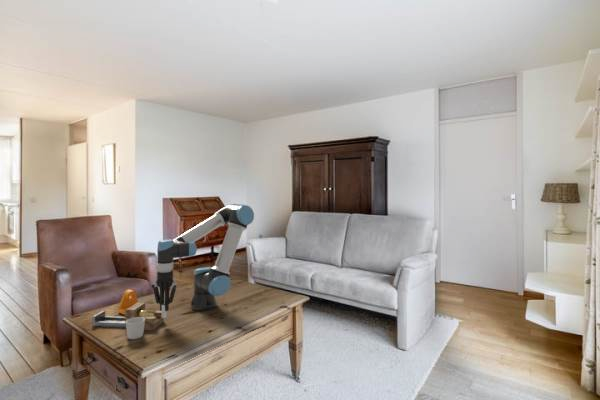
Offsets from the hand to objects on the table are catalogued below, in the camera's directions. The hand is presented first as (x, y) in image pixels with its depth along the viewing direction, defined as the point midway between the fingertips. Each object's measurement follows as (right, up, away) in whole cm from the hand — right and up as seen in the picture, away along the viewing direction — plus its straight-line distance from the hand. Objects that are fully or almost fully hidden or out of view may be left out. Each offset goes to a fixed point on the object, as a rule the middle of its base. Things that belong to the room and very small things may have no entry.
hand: (164, 316), depth 164 cm
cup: (-8, -5, -12) cm, 15 cm away
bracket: (-26, -4, +18) cm, 32 cm away
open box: (-10, -4, 0) cm, 11 cm away
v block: (-25, -4, +1) cm, 26 cm away
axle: (-12, -1, 0) cm, 12 cm away
